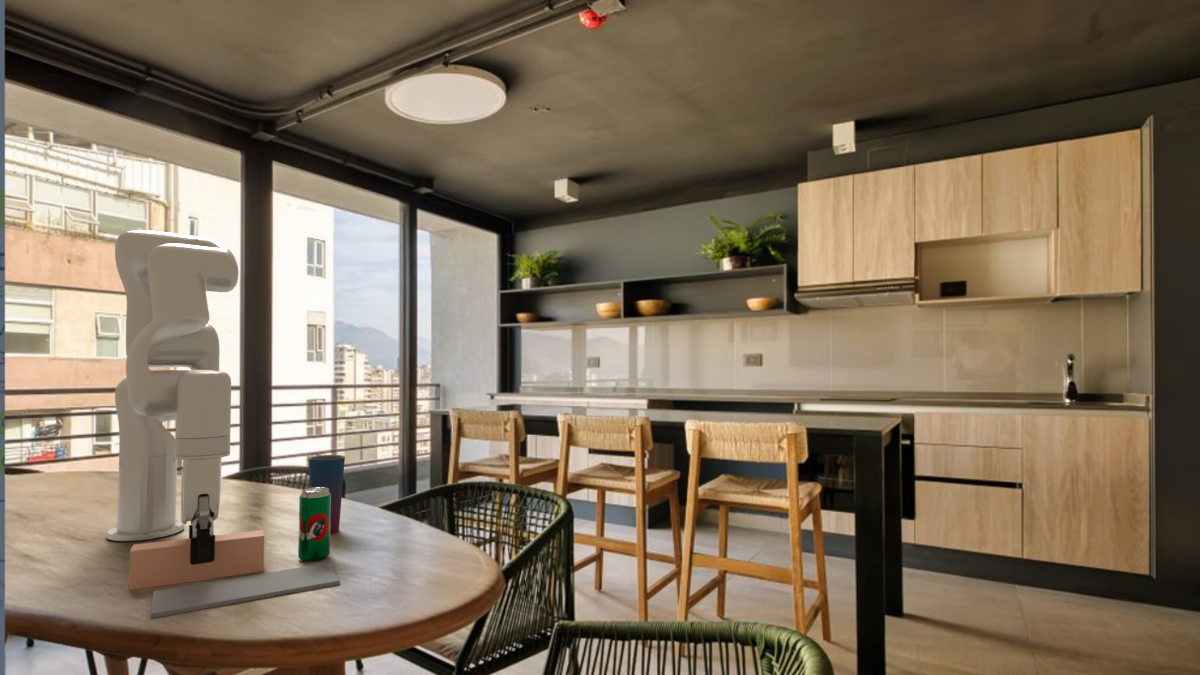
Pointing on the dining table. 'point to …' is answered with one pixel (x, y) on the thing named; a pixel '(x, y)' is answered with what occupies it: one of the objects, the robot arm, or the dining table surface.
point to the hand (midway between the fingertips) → (201, 555)
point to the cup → (329, 482)
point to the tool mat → (241, 589)
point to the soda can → (314, 524)
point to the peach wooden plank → (173, 564)
